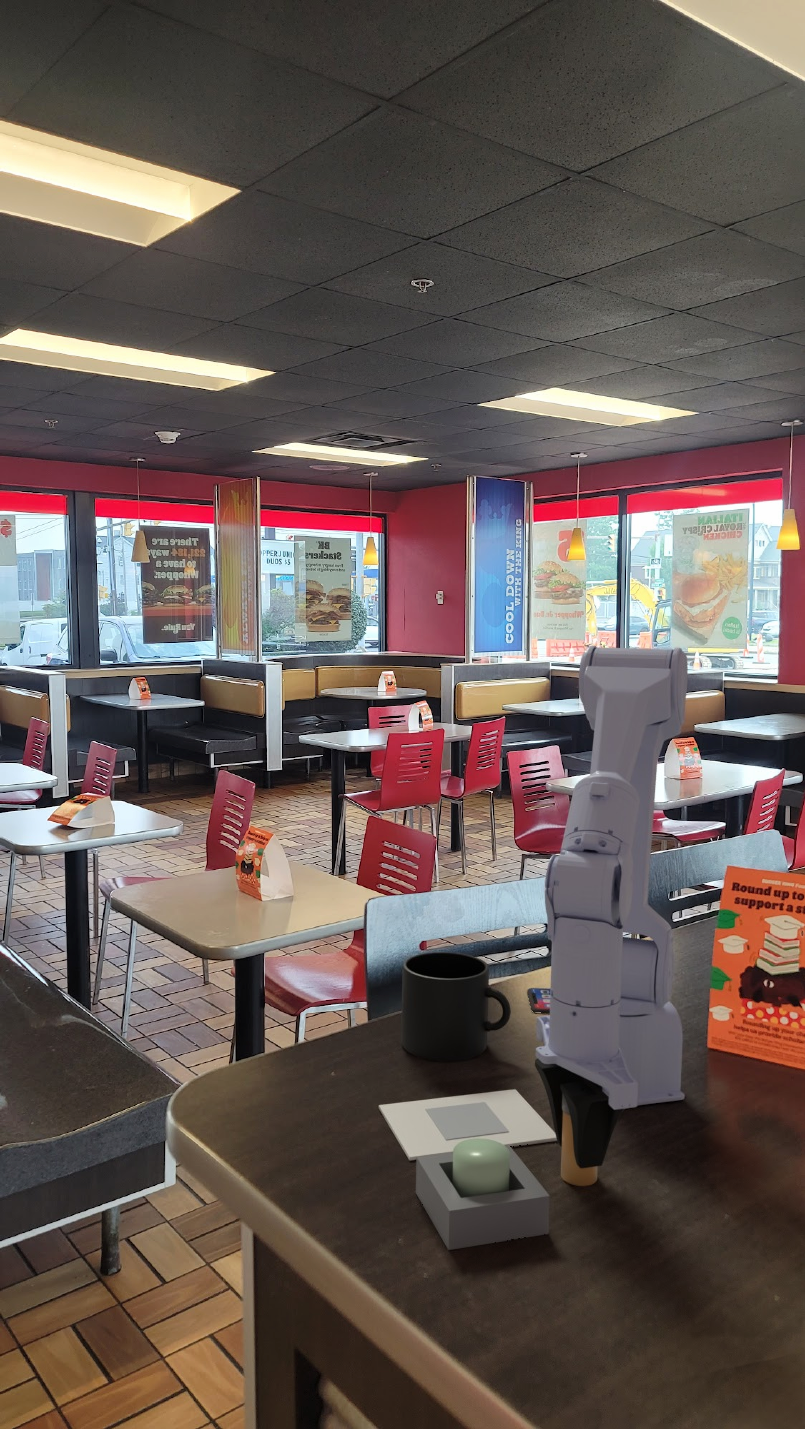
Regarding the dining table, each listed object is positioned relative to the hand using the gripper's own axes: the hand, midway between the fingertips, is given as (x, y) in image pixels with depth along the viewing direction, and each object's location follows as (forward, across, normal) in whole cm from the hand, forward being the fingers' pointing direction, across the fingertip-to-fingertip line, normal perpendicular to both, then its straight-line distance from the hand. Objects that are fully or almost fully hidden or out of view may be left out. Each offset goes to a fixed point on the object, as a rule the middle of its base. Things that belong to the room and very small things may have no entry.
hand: (579, 1154), depth 86 cm
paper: (+2, -11, -6) cm, 13 cm away
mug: (+2, -28, -1) cm, 28 cm away
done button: (0, +3, -10) cm, 10 cm away
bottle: (+2, 0, 0) cm, 2 cm away
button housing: (+2, +3, -10) cm, 11 cm away
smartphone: (+2, -36, +20) cm, 42 cm away
